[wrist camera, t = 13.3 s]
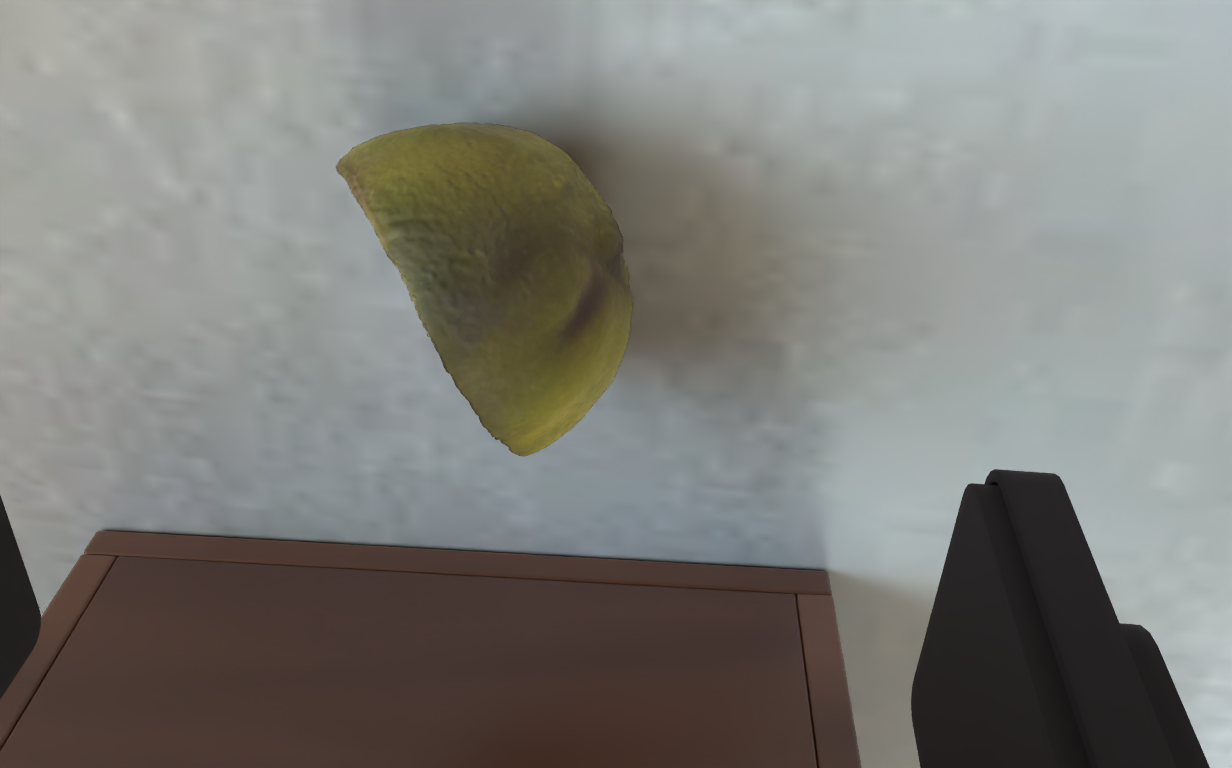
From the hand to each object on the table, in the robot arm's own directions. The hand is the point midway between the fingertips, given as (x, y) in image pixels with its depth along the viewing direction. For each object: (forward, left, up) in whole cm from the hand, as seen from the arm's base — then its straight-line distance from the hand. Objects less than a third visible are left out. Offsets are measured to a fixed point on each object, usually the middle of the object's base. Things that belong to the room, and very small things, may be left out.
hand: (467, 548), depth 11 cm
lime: (0, -1, -9) cm, 9 cm away
